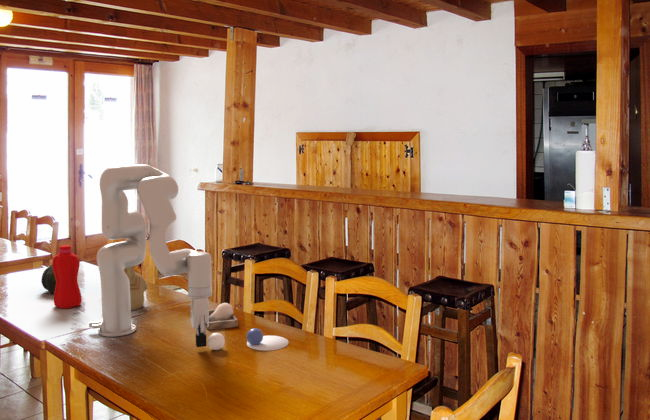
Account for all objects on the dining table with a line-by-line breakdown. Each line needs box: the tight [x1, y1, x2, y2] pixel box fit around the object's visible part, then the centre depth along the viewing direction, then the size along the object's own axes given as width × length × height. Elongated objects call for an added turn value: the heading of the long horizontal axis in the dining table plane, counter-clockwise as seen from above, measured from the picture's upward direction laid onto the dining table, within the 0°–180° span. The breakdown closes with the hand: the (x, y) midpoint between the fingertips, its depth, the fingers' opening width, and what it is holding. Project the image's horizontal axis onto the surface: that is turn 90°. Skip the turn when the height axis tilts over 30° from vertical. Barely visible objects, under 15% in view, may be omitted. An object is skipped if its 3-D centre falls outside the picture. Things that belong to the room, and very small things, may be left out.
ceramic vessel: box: [124, 266, 148, 311], centre depth 237 cm, size 17×20×25 cm
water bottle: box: [51, 244, 82, 310], centre depth 239 cm, size 9×11×25 cm
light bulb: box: [209, 302, 234, 322], centre depth 220 cm, size 7×7×11 cm
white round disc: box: [246, 335, 290, 352], centre depth 198 cm, size 14×14×1 cm
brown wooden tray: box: [206, 308, 239, 331], centre depth 220 cm, size 11×16×2 cm
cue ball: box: [207, 332, 226, 351], centre depth 192 cm, size 6×6×6 cm
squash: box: [41, 264, 56, 295], centre depth 262 cm, size 14×15×15 cm
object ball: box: [246, 327, 264, 345], centre depth 196 cm, size 6×6×6 cm
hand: (201, 345), depth 191 cm, fingers closed
